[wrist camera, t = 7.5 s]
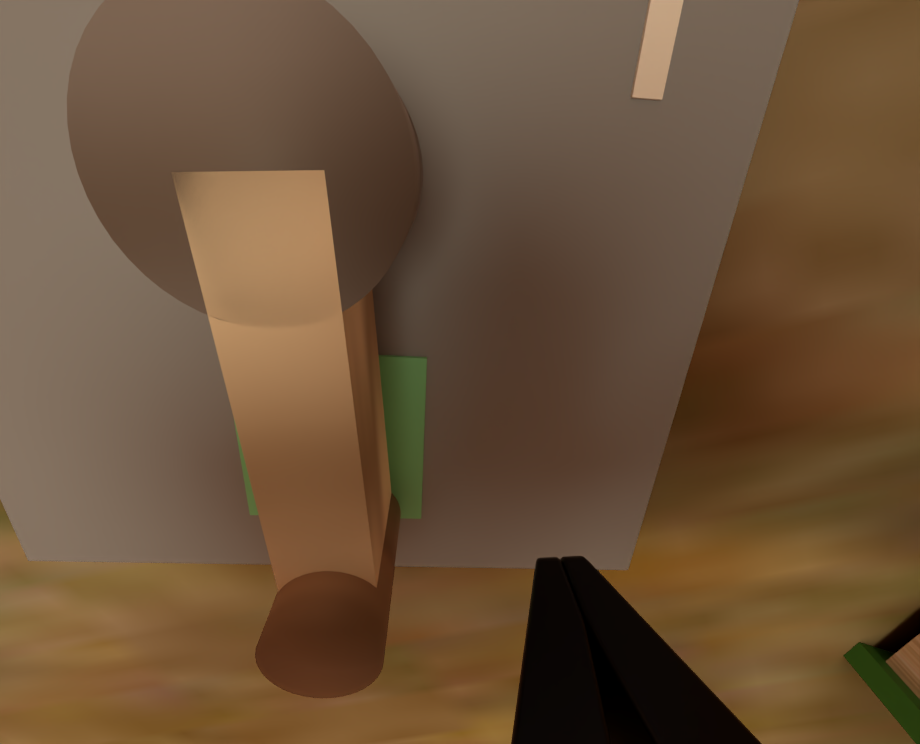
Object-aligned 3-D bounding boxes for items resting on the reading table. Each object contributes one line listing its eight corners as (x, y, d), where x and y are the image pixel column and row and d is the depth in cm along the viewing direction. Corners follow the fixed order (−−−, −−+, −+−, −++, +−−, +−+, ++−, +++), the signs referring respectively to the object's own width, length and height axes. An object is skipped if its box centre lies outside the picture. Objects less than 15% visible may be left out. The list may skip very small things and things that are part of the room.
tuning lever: (160, 31, 8) (-93, -93, 4) (417, 30, 8) (396, -90, 4) (282, 548, 13) (218, 703, 9) (438, 542, 13) (437, 692, 9)
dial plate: (918, -614, 6) (1055, -839, 5) (611, 534, 16) (629, 572, 14) (-472, -878, 5) (-810, -1266, 4) (67, 523, 14) (25, 563, 13)
